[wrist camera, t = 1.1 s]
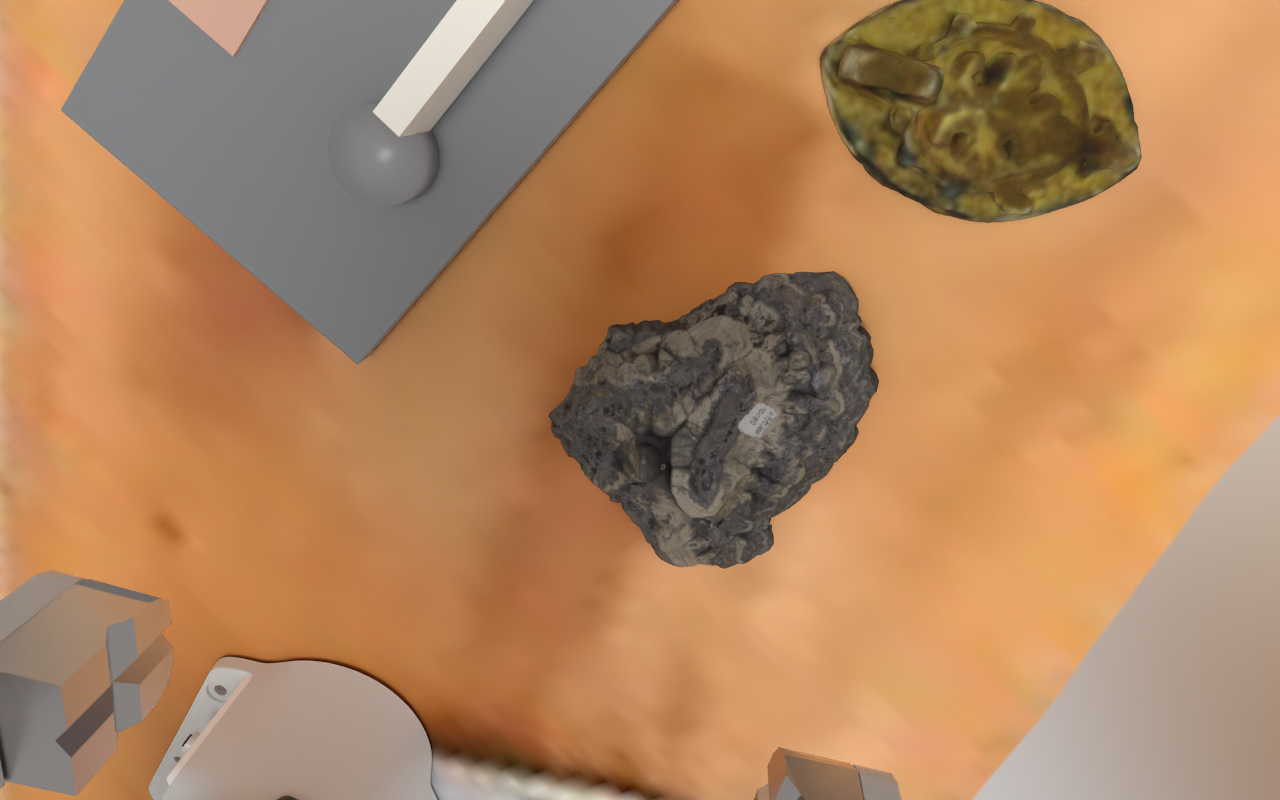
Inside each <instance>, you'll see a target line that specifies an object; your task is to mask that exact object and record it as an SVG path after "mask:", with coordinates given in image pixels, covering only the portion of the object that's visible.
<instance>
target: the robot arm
mask: <svg viewBox="0 0 1280 800" xmlns="http://www.w3.org/2000/svg"><path fill="white" fill-rule="evenodd" d="M171 622H172V621H171V611H170V603H169V602H167V601H165V600H163V599H161V598H157V597H154V596H150V595H146V594H142V593H139V592H135V591H131V590H128V589H124V588H120V587H117V586H113V585H109V584H105V583H102V582H98V581H94V580H91V579H85V578H81V577H77V576H73V575H70V574H66V573H62V572H58V571H55V570H49V571H46V572H43V573H39V574H36V575H35V576H33V577H32V578H31V579H29V580H28V581H27V582H25V583H24V584H23V585H21V586H20V587H18V588H17V589H16V590H14V591H13V592H12V593H10V594H9V595H8V596H6V597H5V598H4V599H2V600H1V601H0V788H1V787H3V786H4V785H5V781H7V782H12V783H17V784H21V785H26V786H31V787H36V788H41V789H45V790H50V791H55V792H60V793H64V794H69V795H74V796H77V795H78V793H79V792H80V791H81V790H82V789H83V788H84V787H85V786H86V784H87V783H88V782H89V781H90V780H91V779H92V778H93V776H94V775H95V774H96V773H97V772H98V771H99V770H100V769H101V767H102V766H103V765H104V764H105V763H106V762H107V761H108V759H109V758H110V757H111V756H112V755H113V754H114V753H115V752H116V750H117V733H118V732H120V731H122V730H124V729H126V728H128V727H130V726H133V725H135V724H137V723H139V722H141V721H143V719H144V718H145V717H146V716H147V715H148V714H149V712H150V711H151V710H152V709H153V708H154V706H155V705H156V704H157V703H158V701H159V699H160V697H161V695H162V694H163V692H164V690H165V688H166V686H167V684H168V682H169V680H170V676H171V672H172V667H173V663H174V661H173V647H172V646H171V645H170V644H169V642H168V641H167V640H166V638H165V637H164V636H163V634H162V632H163V631H164V630H165V629H166V628H167V627H168V626H169V625H170V623H171ZM431 768H432V753H431V747H430V743H429V740H428V737H427V734H426V732H425V730H424V728H423V726H422V724H421V723H420V721H419V720H418V718H417V717H416V715H415V714H414V713H413V711H412V710H411V709H410V708H409V707H408V706H407V705H406V704H405V703H404V702H403V701H402V700H401V699H400V698H399V697H398V696H397V695H396V694H394V693H393V692H392V691H391V690H389V689H388V688H386V687H385V686H384V685H382V684H380V683H379V682H377V681H375V680H374V679H372V678H370V677H368V676H366V675H364V674H362V673H359V672H357V671H355V670H352V669H349V668H346V667H343V666H339V665H335V664H331V663H326V662H319V661H289V662H280V663H261V662H257V661H252V660H248V659H243V658H237V657H223V658H221V659H219V660H218V661H217V662H216V663H215V665H214V666H213V668H212V669H211V671H210V672H209V674H208V676H207V678H206V680H205V681H204V683H203V685H202V687H201V689H200V691H199V693H198V695H197V696H196V698H195V700H194V702H193V704H192V706H191V708H190V709H189V711H188V713H187V715H186V717H185V719H184V721H183V723H182V724H181V726H180V728H179V730H178V732H177V734H176V736H175V737H174V739H173V741H172V743H171V745H170V747H169V749H168V751H167V752H166V754H165V756H164V758H163V760H162V762H161V764H160V765H159V767H158V769H157V771H156V773H155V775H154V777H153V779H152V781H151V783H150V785H149V793H150V795H151V797H152V798H153V800H437V798H436V796H435V793H434V791H433V789H432V787H431V781H430V779H431ZM754 800H902V799H901V796H900V792H899V788H898V784H897V781H896V779H895V778H894V776H893V775H892V774H891V773H887V772H883V771H879V770H874V769H870V768H866V767H862V766H857V765H851V764H850V763H846V762H841V761H837V760H832V759H828V758H824V757H819V756H815V755H811V754H806V753H802V752H798V751H793V750H789V749H785V748H780V747H779V748H778V749H777V750H776V751H775V752H774V753H773V755H772V757H771V760H770V762H769V764H768V784H767V785H765V786H764V787H762V788H760V789H758V790H757V793H756V796H755V798H754Z"/></svg>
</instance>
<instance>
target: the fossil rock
mask: <svg viewBox="0 0 1280 800" xmlns="http://www.w3.org/2000/svg"><path fill="white" fill-rule="evenodd" d="M861 323H862V321H861V318H860V316H859V315H858V298H857V297H856V295H855V293H854V292H853V290H852V288H851V286H850V285H849V284H848V283H847V281H846V280H845V279H844V278H843V277H841V276H840V275H838V274H837V273H835V272H833V271H832V272H821V273H812V272H796V273H794V274H784V273H774V274H770V275H766V276H763V277H762V278H761V279H760V280H759V281H757V282H755V283H754V284H752V283H745V282H735V283H734V284H732V285H731V286H729V287H728V289H727V290H726V292H725V293H723V294H722V295H720V296H718V297H717V298H715V299H714V300H712V299H709V300H707V301H705V302H704V303H703V304H701V305H699V306H698V307H696V308H695V309H693V310H692V311H691V312H690V313H689V314H686V315H684V316H682V317H680V318H679V319H678V320H675V321H673V322H668V323H663V322H661V321H659V320H655V321H642V322H640V323H638V324H637V325H636V324H634V323H633V322H632V323H629V324H627V325H612V326H610V327H609V328H608V334H607V337H606V338H605V340H604V341H603V343H602V344H601V345H600V346H599V349H598V352H597V354H596V356H593V357H590V360H589V363H588V364H587V365H586V366H582V367H579V368H578V369H577V370H576V373H575V377H574V383H573V385H572V387H571V389H570V392H569V394H568V395H567V397H566V398H565V399H564V400H563V401H562V402H561V403H560V404H559V405H558V406H557V408H555V409H554V410H553V411H552V412H550V414H549V417H550V419H551V420H552V425H551V429H552V432H553V434H554V436H555V437H557V438H559V439H560V440H561V444H562V446H563V448H564V450H565V451H566V453H567V454H568V456H570V457H573V458H575V459H576V460H577V461H578V463H579V464H580V465H581V469H582V470H583V471H584V473H585V475H586V476H587V477H588V478H589V479H590V481H591V482H592V483H593V484H595V485H597V486H598V487H599V488H600V489H601V490H602V491H603V492H605V493H606V494H608V495H609V496H610V501H613V502H620V503H622V507H623V509H624V511H625V512H626V513H627V515H628V516H629V517H630V519H631V520H632V522H633V523H634V524H636V525H637V526H639V527H640V529H641V531H642V532H643V534H644V536H645V539H646V541H647V542H648V543H650V544H651V546H652V548H653V549H654V551H655V553H656V555H657V556H658V557H659V558H661V560H663V561H665V562H667V563H669V564H672V565H674V566H679V567H688V566H695V565H697V564H704V565H717V566H719V567H721V568H724V569H725V568H728V567H731V566H733V565H736V564H744V563H746V562H748V561H750V560H751V559H753V558H754V557H756V556H757V555H762V554H763V553H765V552H767V551H768V550H770V548H771V547H772V546H773V544H774V536H773V533H772V525H769V524H770V520H771V517H774V516H776V515H778V514H780V513H781V512H783V511H785V510H786V509H788V508H790V507H791V506H793V505H794V504H795V503H796V502H798V501H799V500H800V499H801V498H802V497H803V496H804V495H805V494H807V492H808V491H809V490H810V487H811V484H813V483H815V482H817V481H819V480H821V479H822V478H824V477H825V476H826V475H827V474H828V472H829V471H830V469H831V468H832V466H833V464H834V462H836V461H838V459H839V458H840V457H841V456H842V455H843V454H844V453H846V451H847V449H848V448H849V447H850V446H851V445H852V444H853V443H854V441H855V440H856V437H857V435H858V429H857V427H856V425H857V424H858V422H859V421H860V419H861V418H862V417H863V415H864V413H865V412H866V410H867V409H868V407H869V402H870V399H871V398H872V396H873V395H874V394H875V392H876V391H877V388H878V383H879V380H878V377H877V375H876V373H875V371H874V370H873V369H872V368H870V364H871V362H872V359H873V348H872V345H871V343H870V341H871V336H870V334H869V333H868V332H867V331H866V330H865V329H864V328H863V327H862V326H860V324H861Z"/></svg>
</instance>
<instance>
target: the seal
mask: <svg viewBox="0 0 1280 800" xmlns="http://www.w3.org/2000/svg"><path fill="white" fill-rule="evenodd" d="M820 65H821V74H822V80H823V86H824V91H825V94H826V97H827V103H828V107H829V111H830V114H831V117H832V119H833V122H834V124H835V126H836V129H837V131H838V133H839V134H840V136H841V138H842V140H843V142H844V143H845V144H846V146H847V147H848V149H849V151H850V152H851V154H852V155H853V156H854V157H855V158H856V160H858V161H859V162H860V163H862V164H863V166H864V168H865V170H866V171H867V173H868V174H870V175H871V176H872V177H873V178H874V179H876V180H877V181H878V182H879V183H881V184H882V185H883V186H885V187H887V188H890V189H892V190H895V191H898V192H899V193H901V194H902V195H904V196H905V197H908V198H910V199H912V200H915V201H917V202H920V203H921V204H923V205H924V206H925V207H927V208H929V209H930V210H932V211H933V212H936V213H939V214H942V215H947V216H953V217H956V218H959V219H964V220H968V221H975V222H986V223H990V222H1007V221H1015V220H1021V219H1026V218H1031V217H1035V216H1039V215H1042V214H1046V213H1049V212H1052V211H1055V210H1058V209H1061V208H1065V207H1068V206H1072V205H1074V204H1077V203H1080V202H1083V201H1085V200H1087V199H1090V198H1092V197H1094V196H1096V195H1098V194H1100V193H1101V192H1103V191H1105V190H1107V189H1108V188H1110V187H1112V186H1113V185H1115V184H1117V183H1118V182H1120V181H1121V180H1123V179H1124V178H1125V177H1127V176H1128V175H1129V174H1131V173H1132V172H1133V171H1135V170H1136V169H1137V167H1138V165H1139V162H1140V160H1141V158H1142V156H1141V148H1140V142H1139V135H1138V126H1137V124H1136V123H1135V121H1134V112H1133V104H1132V101H1131V98H1130V95H1129V92H1128V89H1127V85H1126V82H1125V79H1124V77H1123V74H1122V72H1121V70H1120V68H1119V66H1118V64H1117V62H1116V61H1115V59H1114V57H1113V55H1112V53H1111V51H1110V50H1109V49H1108V47H1107V46H1106V45H1105V43H1104V42H1103V40H1102V39H1101V37H1100V36H1099V35H1098V34H1096V33H1095V32H1094V31H1093V30H1092V29H1091V28H1090V27H1089V26H1087V25H1086V24H1085V23H1084V22H1082V21H1081V20H1078V19H1076V18H1073V17H1071V16H1068V15H1067V14H1065V13H1063V12H1061V11H1060V10H1058V9H1057V8H1055V7H1053V6H1052V5H1048V4H1043V3H1040V2H1037V1H1034V0H901V1H898V2H896V3H894V4H891V5H889V6H887V7H884V8H882V9H880V10H878V11H877V12H875V13H873V14H871V15H869V16H868V17H866V18H864V19H863V20H861V21H860V22H858V23H856V24H855V25H854V26H852V27H851V28H849V29H848V30H847V31H845V32H844V33H843V34H841V35H840V36H839V37H837V38H836V39H835V40H834V41H833V42H832V43H830V44H829V45H828V46H827V47H826V48H825V50H824V52H823V54H822V56H821V58H820Z"/></svg>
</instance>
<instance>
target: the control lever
mask: <svg viewBox="0 0 1280 800" xmlns="http://www.w3.org/2000/svg"><path fill="white" fill-rule="evenodd" d="M533 1H534V0H457V1H456V2H455V3H454V4H453V6H452V7H451V8H450V10H449V11H448V12H447V14H446V15H445V16H444V18H443V19H442V20H441V22H440V23H439V24H438V26H437V27H436V28H435V30H434V31H433V32H432V34H431V35H430V36H429V38H428V39H427V40H426V42H425V43H424V44H423V46H422V47H421V48H420V50H419V51H418V52H417V54H416V55H415V56H414V58H413V59H412V60H411V62H410V63H409V64H408V66H407V67H406V68H405V69H404V71H403V72H402V73H401V75H400V76H399V77H398V79H397V80H396V81H395V83H394V84H393V85H392V87H391V88H390V89H389V91H388V92H387V93H386V95H385V96H384V97H383V99H382V100H381V101H380V103H378V104H362V105H358V106H355V107H352V108H350V109H348V110H347V111H345V112H344V113H343V114H342V115H340V116H339V118H338V119H337V120H336V121H335V123H334V125H333V127H332V129H331V131H330V134H329V138H328V159H329V163H330V166H331V169H332V172H333V174H334V176H335V178H336V179H337V181H338V183H339V184H340V185H341V186H342V188H343V189H344V190H345V191H346V192H347V193H348V194H349V195H351V196H352V197H353V198H355V199H356V200H358V201H360V202H362V203H364V204H367V205H369V206H374V207H391V206H395V205H398V204H401V203H403V202H406V201H409V200H412V199H414V198H417V197H418V196H420V195H422V194H423V193H424V192H425V191H426V190H427V189H428V188H429V187H430V186H431V184H432V183H433V181H434V179H435V177H436V174H437V171H438V166H439V152H438V146H437V143H436V140H435V137H434V135H433V133H432V131H431V129H432V128H433V127H434V125H435V124H436V123H437V122H438V120H439V119H440V118H441V116H442V115H443V114H444V113H445V111H446V110H447V109H448V108H449V106H450V105H451V104H452V103H453V101H454V100H455V99H456V98H457V96H458V95H459V94H460V93H461V91H462V90H463V89H464V88H465V86H466V85H467V84H468V82H469V81H470V80H471V79H472V77H473V76H474V75H475V74H476V72H477V71H478V70H479V69H480V67H481V66H482V65H483V64H484V62H485V61H486V60H487V59H488V57H489V56H490V55H491V54H492V52H493V51H494V50H495V49H496V47H497V46H498V45H499V43H500V42H501V41H502V40H503V38H504V37H505V36H506V35H507V33H508V32H509V31H510V30H511V28H512V27H513V26H514V25H515V23H516V22H517V21H518V20H519V18H520V17H521V16H522V15H523V13H524V12H525V11H526V9H527V8H528V7H529V6H530V4H531V3H532V2H533Z"/></svg>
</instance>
